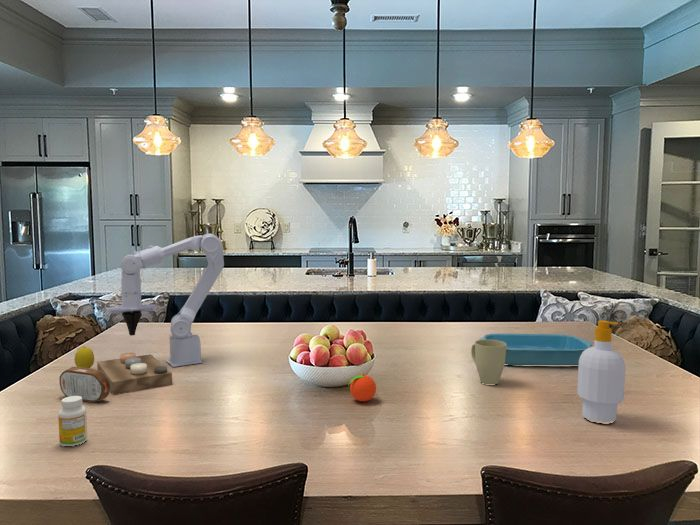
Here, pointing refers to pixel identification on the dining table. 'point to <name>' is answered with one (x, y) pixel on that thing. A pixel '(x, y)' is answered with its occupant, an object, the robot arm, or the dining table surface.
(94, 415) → the dining table surface
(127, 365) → the knob slate
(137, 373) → the knob cream
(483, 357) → the mug
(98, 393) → the tin
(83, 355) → the lemon
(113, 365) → the board
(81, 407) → the supplement bottle
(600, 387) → the soap bottle
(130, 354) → the peach pink ball
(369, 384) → the clementine
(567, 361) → the casserole dish
